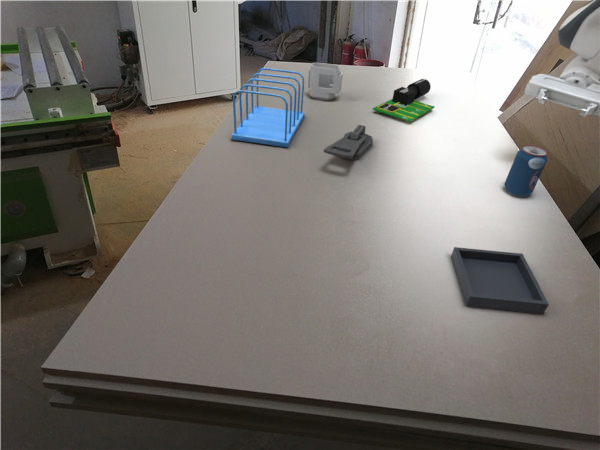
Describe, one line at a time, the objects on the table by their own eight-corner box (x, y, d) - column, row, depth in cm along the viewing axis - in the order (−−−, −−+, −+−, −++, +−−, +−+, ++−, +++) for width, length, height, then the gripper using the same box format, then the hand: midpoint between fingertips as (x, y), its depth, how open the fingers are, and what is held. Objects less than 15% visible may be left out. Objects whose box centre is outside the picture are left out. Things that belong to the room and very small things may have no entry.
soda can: (530, 201, 102) (550, 159, 95) (501, 194, 104) (519, 152, 97) (531, 188, 107) (550, 147, 100) (503, 182, 109) (520, 141, 102)
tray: (517, 263, 83) (522, 253, 81) (543, 314, 72) (549, 304, 70) (450, 256, 84) (454, 246, 82) (465, 306, 73) (470, 296, 71)
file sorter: (287, 148, 119) (289, 97, 110) (231, 141, 122) (228, 90, 112) (304, 117, 139) (306, 71, 130) (255, 111, 141) (254, 65, 132)
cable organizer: (337, 102, 151) (341, 70, 144) (305, 98, 153) (307, 65, 146) (340, 97, 156) (344, 65, 149) (309, 92, 159) (311, 61, 151)
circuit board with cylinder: (413, 105, 133) (374, 93, 141) (409, 125, 137) (371, 112, 145) (451, 85, 152) (415, 76, 159) (446, 103, 156) (411, 93, 164)
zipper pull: (320, 149, 105) (349, 116, 124) (318, 171, 109) (347, 136, 128) (353, 156, 103) (378, 122, 121) (350, 179, 107) (374, 142, 125)
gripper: (538, 63, 108) (524, 82, 101) (624, 86, 100) (615, 109, 92) (528, 85, 113) (514, 105, 105) (609, 109, 105) (600, 132, 97)
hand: (562, 107), depth 99 cm, fingers open, 8 cm apart
